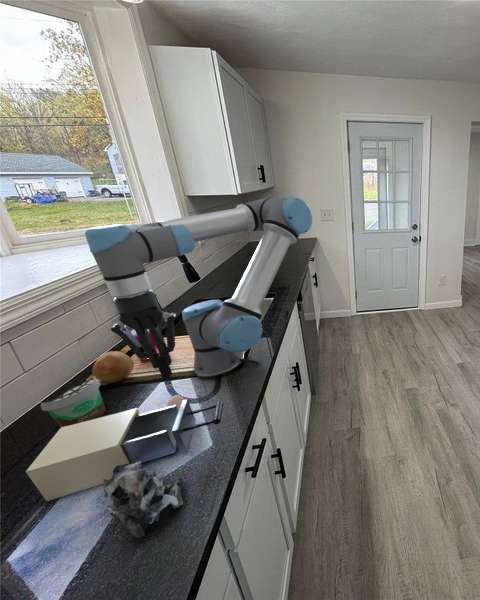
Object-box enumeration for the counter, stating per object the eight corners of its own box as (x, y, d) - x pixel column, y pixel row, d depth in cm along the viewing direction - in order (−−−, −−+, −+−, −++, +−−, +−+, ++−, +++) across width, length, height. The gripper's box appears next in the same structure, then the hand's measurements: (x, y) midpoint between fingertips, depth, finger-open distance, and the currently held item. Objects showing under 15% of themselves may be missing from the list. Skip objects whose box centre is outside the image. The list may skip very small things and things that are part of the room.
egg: (181, 419, 84) (174, 402, 82) (166, 418, 85) (159, 401, 83) (193, 407, 89) (187, 391, 86) (179, 407, 89) (172, 391, 87)
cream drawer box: (149, 434, 80) (137, 407, 77) (132, 474, 69) (117, 445, 66) (77, 455, 75) (60, 427, 72) (46, 501, 64) (25, 471, 61)
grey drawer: (228, 410, 85) (221, 390, 83) (224, 440, 76) (216, 418, 73) (134, 437, 78) (123, 416, 76) (116, 474, 68) (103, 451, 66)
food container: (74, 437, 81) (56, 406, 77) (56, 434, 82) (37, 404, 78) (122, 404, 92) (108, 376, 88) (106, 402, 93) (91, 374, 89)
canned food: (162, 348, 122) (152, 323, 118) (166, 355, 117) (156, 329, 113) (138, 356, 117) (126, 330, 113) (141, 364, 112) (129, 337, 108)
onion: (97, 381, 104) (84, 355, 100) (134, 367, 110) (123, 342, 107) (102, 392, 98) (88, 365, 94) (141, 377, 104) (129, 351, 101)
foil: (87, 557, 51) (90, 464, 58) (122, 554, 59) (121, 473, 67) (171, 519, 55) (164, 437, 63) (192, 521, 64) (184, 448, 71)
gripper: (169, 283, 79) (198, 362, 88) (104, 293, 74) (142, 376, 83) (162, 292, 72) (194, 376, 81) (90, 304, 67) (133, 392, 77)
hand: (167, 376), depth 82 cm, fingers closed
